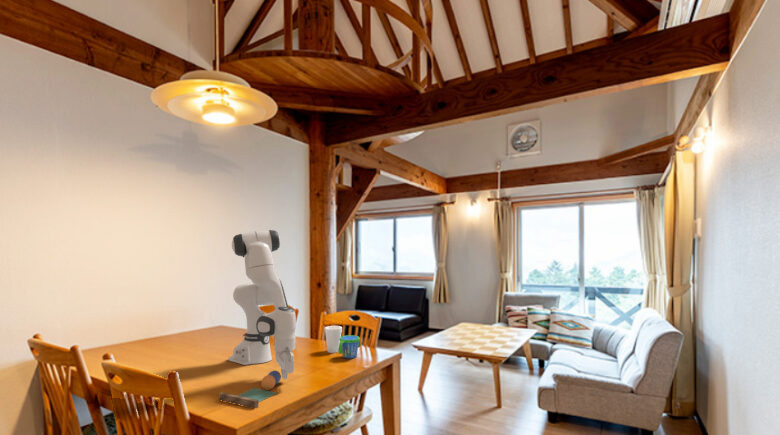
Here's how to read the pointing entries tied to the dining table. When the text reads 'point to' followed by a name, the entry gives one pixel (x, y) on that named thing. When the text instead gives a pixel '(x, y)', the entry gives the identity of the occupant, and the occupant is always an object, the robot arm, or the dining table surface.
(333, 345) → the foam cup
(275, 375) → the blue ball
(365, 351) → the dining table surface
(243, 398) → the rail
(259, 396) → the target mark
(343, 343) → the snack cup
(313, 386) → the dining table surface
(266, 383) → the orange ball
